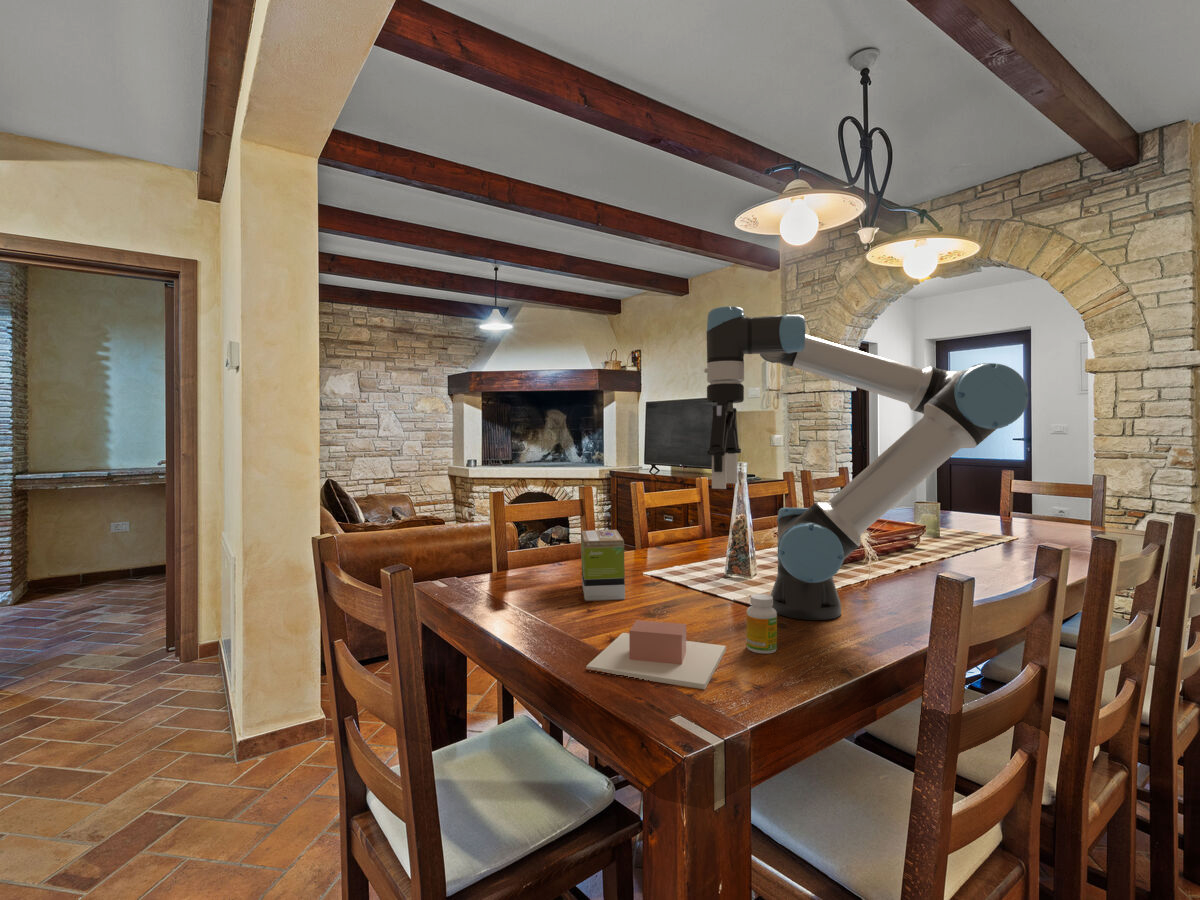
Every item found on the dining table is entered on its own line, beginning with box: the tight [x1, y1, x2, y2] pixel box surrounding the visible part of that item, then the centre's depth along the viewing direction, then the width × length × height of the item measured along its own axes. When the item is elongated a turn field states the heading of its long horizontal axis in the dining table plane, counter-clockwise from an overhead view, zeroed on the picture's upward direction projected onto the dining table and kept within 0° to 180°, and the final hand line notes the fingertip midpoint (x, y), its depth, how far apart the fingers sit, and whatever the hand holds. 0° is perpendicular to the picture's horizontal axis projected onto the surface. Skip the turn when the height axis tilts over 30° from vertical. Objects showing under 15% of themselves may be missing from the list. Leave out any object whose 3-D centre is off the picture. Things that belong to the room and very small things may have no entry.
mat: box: [586, 632, 727, 690], centre depth 104 cm, size 20×18×1 cm
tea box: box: [580, 529, 626, 602], centre depth 149 cm, size 15×10×15 cm
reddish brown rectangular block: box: [628, 619, 687, 665], centre depth 104 cm, size 6×9×5 cm, turn 75°
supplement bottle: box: [746, 593, 778, 655], centre depth 109 cm, size 5×5×10 cm
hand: (725, 486), depth 124 cm, fingers open, 13 cm apart
